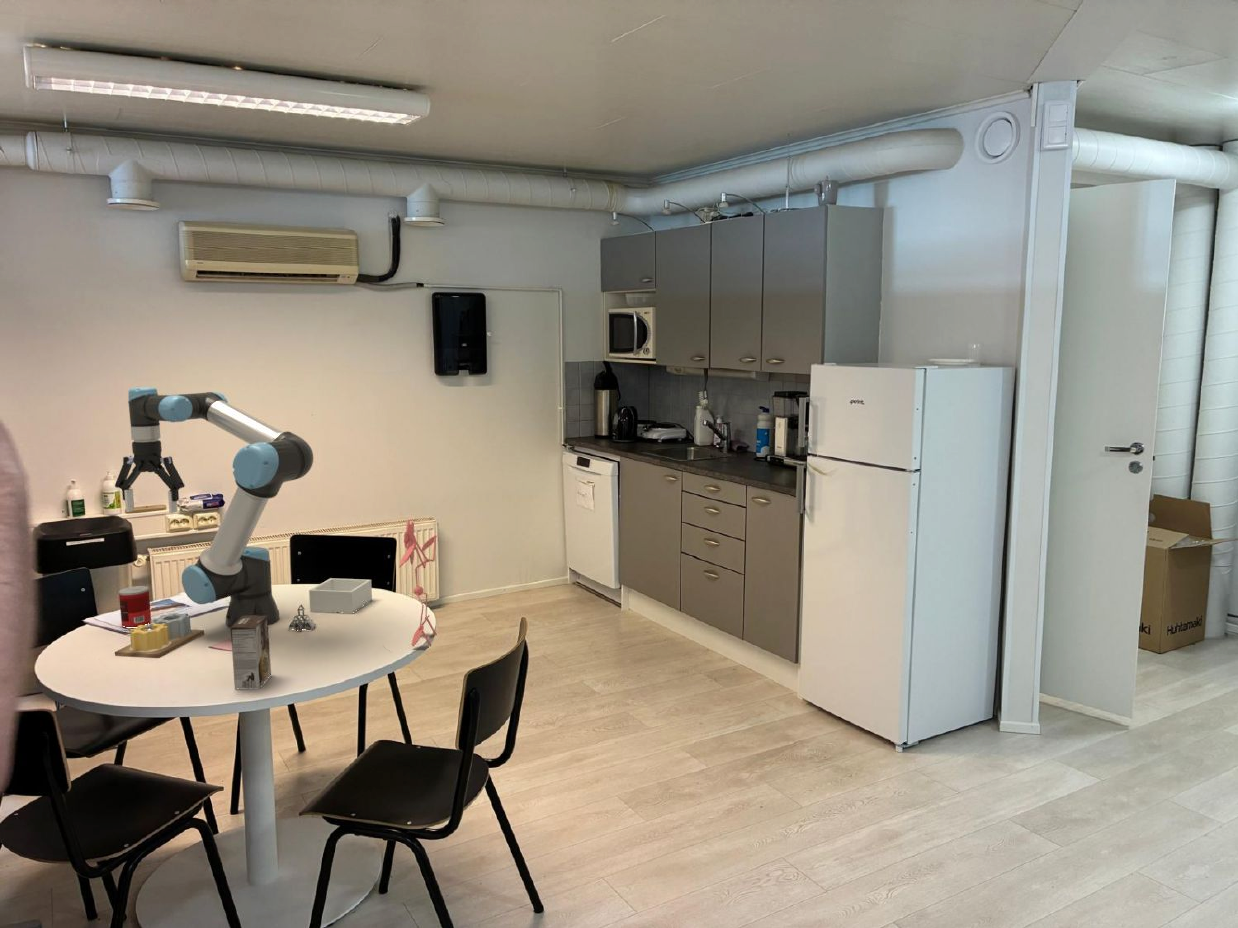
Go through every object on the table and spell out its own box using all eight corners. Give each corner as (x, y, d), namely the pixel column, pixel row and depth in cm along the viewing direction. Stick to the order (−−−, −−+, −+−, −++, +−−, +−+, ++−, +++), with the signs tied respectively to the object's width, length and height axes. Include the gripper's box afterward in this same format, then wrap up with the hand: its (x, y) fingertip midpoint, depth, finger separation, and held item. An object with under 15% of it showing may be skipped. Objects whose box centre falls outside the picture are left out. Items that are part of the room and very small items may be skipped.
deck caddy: (372, 600, 286) (371, 579, 285) (352, 613, 272) (351, 592, 271) (331, 598, 288) (330, 578, 287) (310, 611, 274) (309, 590, 273)
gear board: (204, 633, 254) (204, 629, 254) (158, 658, 234) (158, 653, 234) (163, 631, 256) (163, 627, 256) (115, 656, 236) (114, 651, 236)
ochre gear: (175, 640, 244) (174, 623, 244) (154, 651, 236) (152, 634, 235) (146, 639, 246) (145, 622, 245) (124, 650, 237) (122, 632, 236)
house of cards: (274, 636, 252) (273, 611, 251) (287, 627, 261) (286, 602, 260) (305, 637, 252) (303, 611, 251) (317, 627, 260) (315, 602, 259)
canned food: (157, 620, 266) (154, 585, 264) (140, 629, 258) (137, 593, 257) (133, 620, 267) (130, 585, 265) (115, 628, 259) (112, 592, 257)
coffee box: (246, 676, 222) (242, 615, 219) (272, 675, 222) (268, 614, 220) (233, 690, 213) (229, 626, 210) (260, 689, 213) (256, 626, 211)
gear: (197, 629, 254) (195, 609, 253) (177, 640, 245) (175, 619, 244) (169, 628, 255) (167, 608, 254) (148, 638, 246) (146, 617, 245)
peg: (157, 644, 242) (155, 622, 241) (151, 647, 239) (150, 625, 238) (149, 644, 242) (147, 622, 241) (143, 647, 240) (142, 625, 239)
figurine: (444, 625, 260) (440, 511, 256) (429, 656, 235) (425, 529, 230) (392, 626, 260) (387, 511, 255) (371, 657, 234) (366, 530, 229)
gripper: (194, 439, 257) (199, 510, 260) (115, 438, 260) (120, 508, 263) (178, 442, 250) (184, 515, 253) (97, 441, 252) (103, 513, 255)
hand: (151, 511), depth 258 cm, fingers open, 13 cm apart
